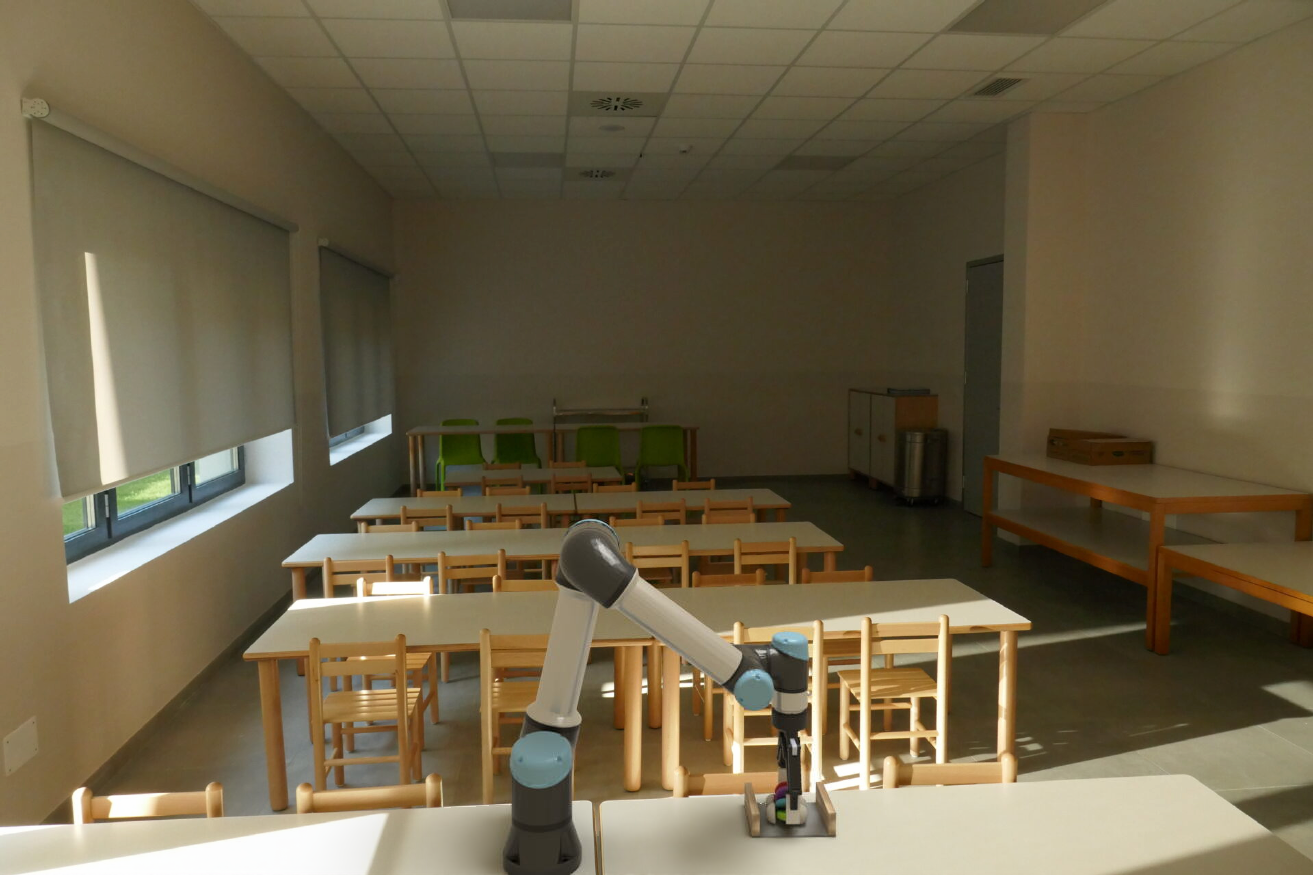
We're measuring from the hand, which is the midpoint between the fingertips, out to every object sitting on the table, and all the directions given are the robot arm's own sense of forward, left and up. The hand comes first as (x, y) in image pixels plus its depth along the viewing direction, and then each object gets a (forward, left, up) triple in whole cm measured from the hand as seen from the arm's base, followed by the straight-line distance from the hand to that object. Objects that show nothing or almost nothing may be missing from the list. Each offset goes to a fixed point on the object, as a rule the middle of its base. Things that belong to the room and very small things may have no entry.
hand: (788, 809), depth 196 cm
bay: (0, 0, -2) cm, 2 cm away
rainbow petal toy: (0, 0, -2) cm, 2 cm away
